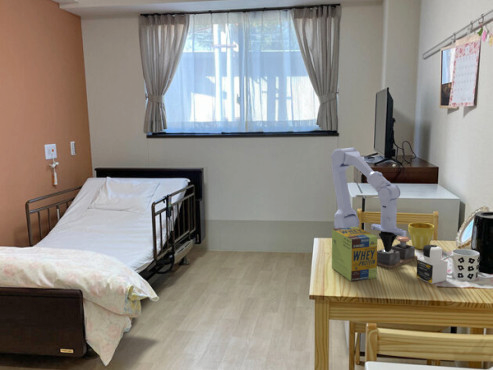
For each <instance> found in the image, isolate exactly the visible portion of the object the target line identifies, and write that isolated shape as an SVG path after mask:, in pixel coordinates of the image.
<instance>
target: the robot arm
mask: <svg viewBox="0 0 493 370" xmlns="http://www.w3.org/2000/svg"><path fill="white" fill-rule="evenodd" d="M330 158H331V159H330V160H331V174H332V181H333V187H334V191H335V199H336V205H337V211H336V212H335V213H334V222H333V226H334V229H336V228H347V227H358V228H359V226H360V219H359V217H358V215H357V211H356V210H355V209H354V208H353V207H352V203H351V199H350V192H349V186H348V181H347V174H346V171H347V170H348V168H349V167H350V166H353V167H355V168H356V169H357V170H358V171H359V172H361V174H363V175H364V176H365V177H366V182H367V183H368V184H369V186H371V187H372V188H373V190H375V191H376V192H377V197H378V199H379V203H380V224H377V223H372V224H371V225H370V229H371V230H372V231H374V230H375V231H377V232H378V231H379V233H378V236H379V238H380V240H381V241H382V244H383V249H385V251H387V252H388V251H391V248H392V246H393V245H394V242H395V240H396V239H397V237H398V236H399V237H400V236H401V237H407V233H408V232H407V230H404V229H401V228H398V227H397V213H398V205H397V204H398V199H399V198H400V195H401V190H400V188H399V186H398V185H397V184H394V183H393V184H392V183H391V181H389V180H387V179H386V178H385V177H384V175H383V173H382V172H379V171H374V170H373V169H372V167H371V166H370V165H369V164H368V163H367V161H365V160H364V159H363V157H362V156H361V152H360V151H358V150H357V149H356V147H352V146H351V147H346V148H335V149H334V150H333V152H332V153H331V154H330Z"/></svg>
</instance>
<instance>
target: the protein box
mask: <svg viewBox="0 0 493 370" xmlns="http://www.w3.org/2000/svg"><path fill="white" fill-rule="evenodd" d="M377 251H378V236H377V235H376V234H373V233H371V232H368V231H366V230H364V229H362V228H360V227H359V226H358V227H347V228H336V229H335V228H332V229H331V268H332V269H333V270H335V271H336V272H338V274H340V275H341V276H343V277H344V278H346V279H347V280H348V281H349V282H357V281H363V280H370V279H371V280H372V279H377V277H378V276H377V274H378V273H377V272H378V268H377V267H378V265H377Z"/></svg>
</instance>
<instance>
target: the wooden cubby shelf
mask: <svg viewBox="0 0 493 370" xmlns="http://www.w3.org/2000/svg"><path fill="white" fill-rule="evenodd" d="M382 249H383V248H381V249H379V250H378V249H377V267H378V266H379V267H381V268H385V269H388V270H391V269H395V268H397V267H399V266H402V265H404V264H408V263H410V262H412V261H415V260H417V259H418V255H415V250H416V248H415V247H414V246H412V244H407V243H406V248H405V249H403V248H400V242H399V243H397V244H393V245H392V248H391V250H393V251H394V253H393V254H390V255H389V254H385V253H382Z"/></svg>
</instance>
